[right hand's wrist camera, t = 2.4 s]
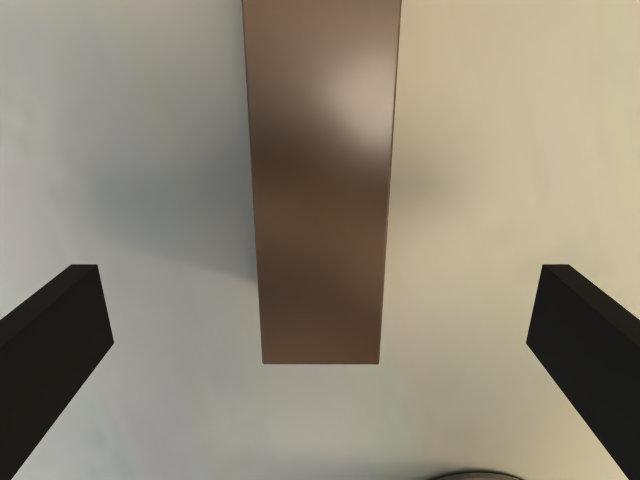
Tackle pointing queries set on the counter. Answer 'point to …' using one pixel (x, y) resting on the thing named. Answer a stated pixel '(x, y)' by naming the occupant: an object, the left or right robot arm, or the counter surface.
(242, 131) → the counter surface
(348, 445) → the counter surface
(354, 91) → the bar
